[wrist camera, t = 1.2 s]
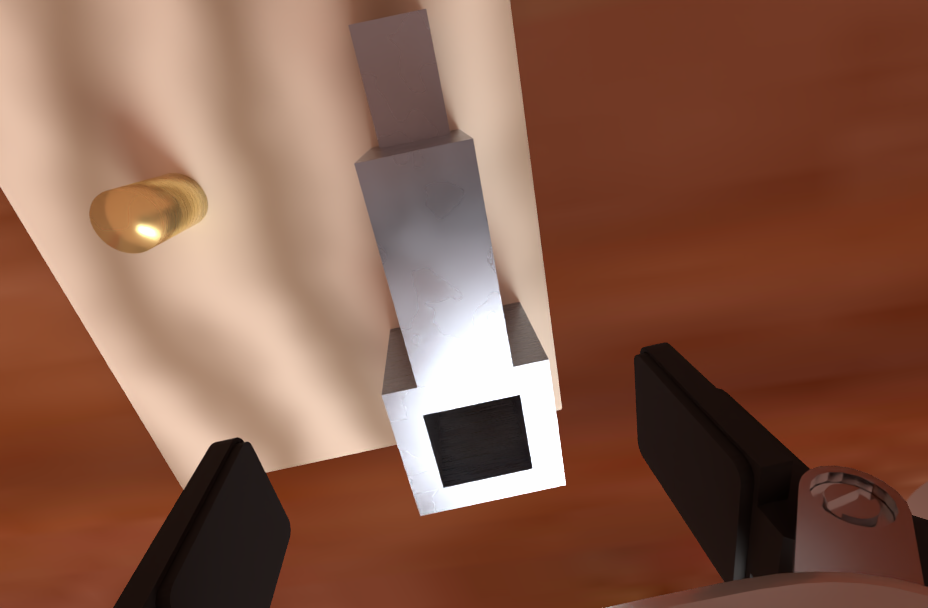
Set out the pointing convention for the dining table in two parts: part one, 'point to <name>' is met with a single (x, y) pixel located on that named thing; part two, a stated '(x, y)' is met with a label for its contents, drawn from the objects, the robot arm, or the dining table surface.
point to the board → (247, 203)
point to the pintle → (147, 212)
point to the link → (446, 293)
